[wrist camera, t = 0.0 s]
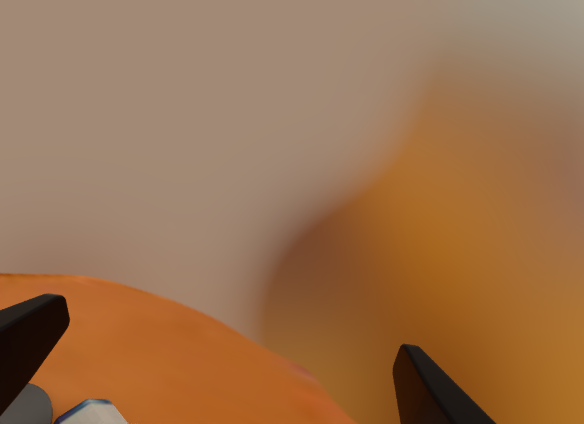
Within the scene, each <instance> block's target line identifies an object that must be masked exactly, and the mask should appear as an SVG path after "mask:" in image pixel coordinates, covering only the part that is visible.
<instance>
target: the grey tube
mask: <svg viewBox="0 0 584 424" xmlns="http://www.w3.org/2000/svg"><path fill="white" fill-rule="evenodd" d="M54 424H128V423H127V422H126V421H125V419H124V418H123V417H122V415H121V414H120V413H119V412H118V410H117V409H116V408H115V407H114V405H113V404H112V403H111V401H110V400H109V399H86V400H85V401H83V402H81V403H80V404H78V405H77V406H75V407H74V408H72V409H71V410H69V411H67V412H66V413H64V414H63V415H61V416H60V417H58V418H57V419H56V421H55V422H54Z"/></svg>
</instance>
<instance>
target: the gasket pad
mask: <svg viewBox="0 0 584 424" xmlns="http://www.w3.org/2000/svg"><path fill="white" fill-rule="evenodd" d="M52 416H53V414H52V405H51V401H50V399H49V397H48V395H47V393H46V392H45V391H44V390H43V389H41V388H40V387H38V386H36V385H33V384H30V383H28V384H27V385H26V386H25V388H24V389H23V390H22V391H21V393H20V394H19V395H18V396H17V398H16V399H15V400H14V401H13V402H12V404H11V405H10V406H9V407H8V408H7V409H6V411H5V412H4V413H3V414H2V415H1V417H0V424H51V422H52Z"/></svg>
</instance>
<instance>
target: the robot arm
mask: <svg viewBox="0 0 584 424" xmlns="http://www.w3.org/2000/svg"><path fill="white" fill-rule="evenodd" d="M69 322H70V317H69V312H68V308H67V303H66V299H65V298H64V296H62V295H56V294H43V295H40V296H37V297H35V298H32V299H29V300H27V301H24V302H21V303H19V304H16V305H13V306H10V307H8V308H5V309H2V310H0V417H1V415H2V414H3V413H4V412H5V411H6V409H7V408H8V407H9V406H10V405H11V404H12V402H13V401H14V400H15V399H16V398H17V396H18V395H19V394H20V393H21V391H22V390H23V389H24V388H25V386H26V385H27V384H28V382H29V381H30V380H31V378H32V377H33V376H34V374H35V373H36V372H37V370H38V369H39V367H40V366H41V365H42V363H43V362H44V360H45V359H46V358H47V356H48V355H49V353H50V352H51V351H52V349H53V348H54V346H55V345H56V344H57V342H58V341H59V339H60V338H61V337H62V335H63V334H64V332H65V331H66V329H67V328H68V326H69ZM393 379H394V385H395V391H396V398H397V404H398V410H399V416H400V422H401V424H496V423H495V422H494V421H493V420H492V419H491V418H490V417H489V416H488V415H487V414H486V413H485V412H484V411H483V410H482V409H481V408H480V407H479V406H478V405H477V404H476V403H475V402H474V401H473V400H472V399H471V398H470V397H469V396H468V395H467V394H466V393H465V392H464V391H463V390H462V389H461V388H460V387H459V386H458V385H457V384H456V383H455V382H454V381H453V380H452V379H451V378H450V377H449V376H448V375H447V374H446V373H445V372H444V371H443V370H442V369H441V368H440V367H439V366H438V365H437V364H436V363H435V362H434V361H433V360H432V359H431V358H430V357H429V356H428V355H427V354H426V353H425V352H424V351H423V350H422V349H421V348H420V347H418V346H416V345H410V344H402V345H401V346H400V349H399V351H398V354H397V357H396V359H395V362H394V365H393Z"/></svg>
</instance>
